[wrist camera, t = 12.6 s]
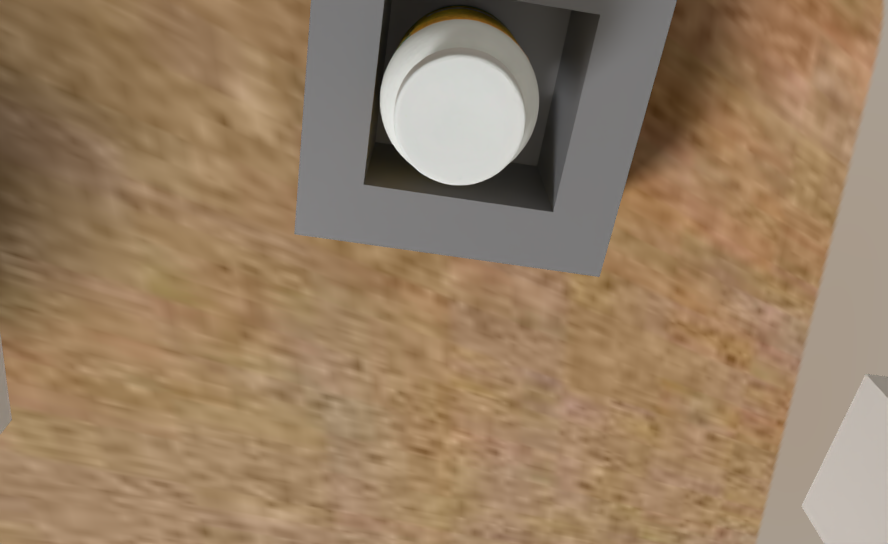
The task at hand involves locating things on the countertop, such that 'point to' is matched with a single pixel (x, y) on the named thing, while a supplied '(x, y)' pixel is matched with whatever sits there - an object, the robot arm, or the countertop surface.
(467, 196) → the well
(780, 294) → the countertop surface
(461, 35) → the supplement bottle
